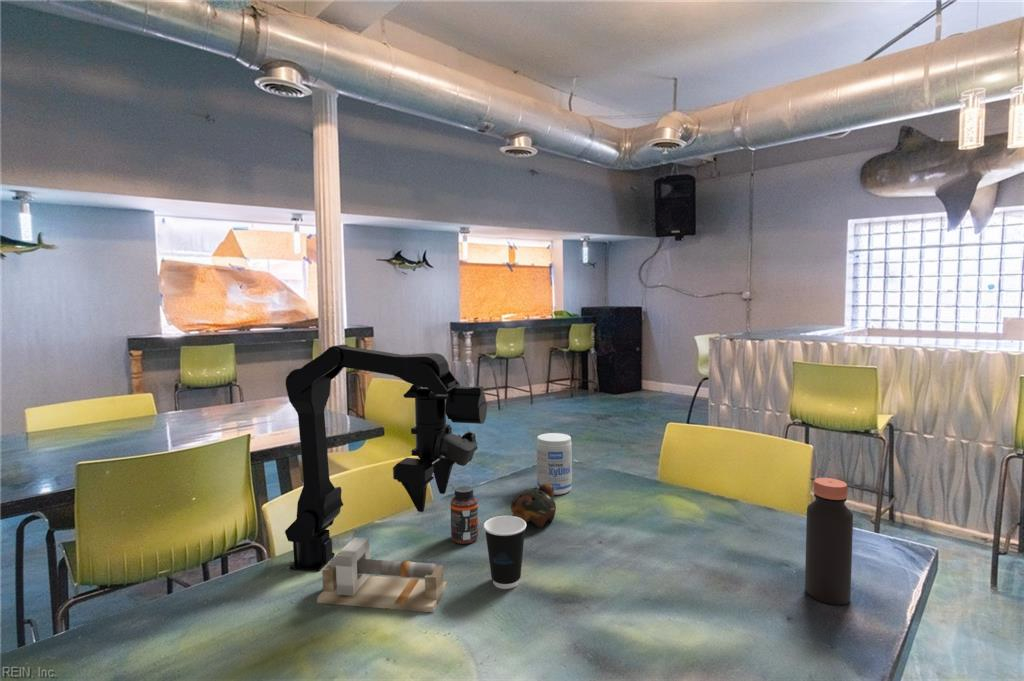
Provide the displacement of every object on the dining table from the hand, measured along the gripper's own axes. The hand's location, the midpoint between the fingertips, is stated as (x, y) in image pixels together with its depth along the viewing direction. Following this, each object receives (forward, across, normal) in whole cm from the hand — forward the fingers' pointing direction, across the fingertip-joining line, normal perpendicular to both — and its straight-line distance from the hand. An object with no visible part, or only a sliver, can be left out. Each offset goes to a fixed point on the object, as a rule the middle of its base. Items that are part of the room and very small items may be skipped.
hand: (432, 502), depth 99 cm
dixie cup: (+14, +1, -14) cm, 20 cm away
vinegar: (+13, +12, -70) cm, 72 cm away
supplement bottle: (+14, +15, 0) cm, 21 cm away
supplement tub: (+14, +49, -13) cm, 53 cm away
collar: (+13, -10, +11) cm, 19 cm away
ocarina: (+14, +27, -13) cm, 33 cm away
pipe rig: (+14, -9, +6) cm, 18 cm away
